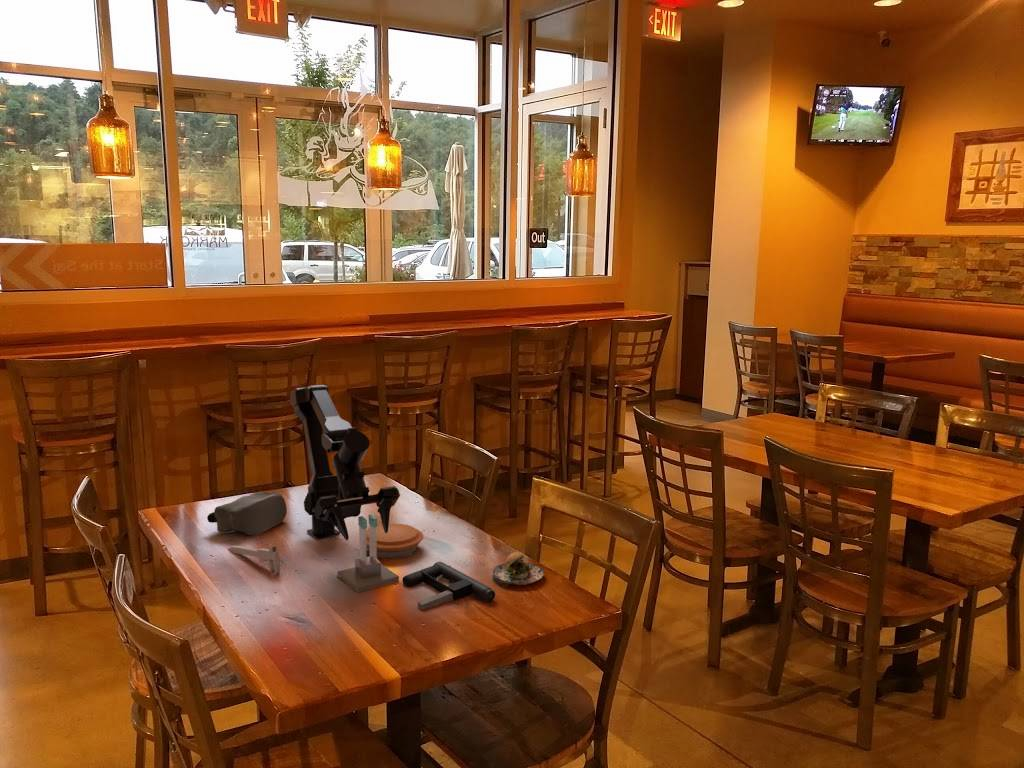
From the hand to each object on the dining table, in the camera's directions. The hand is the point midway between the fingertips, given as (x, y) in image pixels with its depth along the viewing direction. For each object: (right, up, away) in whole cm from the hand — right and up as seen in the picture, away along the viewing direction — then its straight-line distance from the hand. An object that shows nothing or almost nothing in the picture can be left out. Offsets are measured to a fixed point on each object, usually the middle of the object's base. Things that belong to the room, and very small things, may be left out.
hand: (367, 536), depth 181 cm
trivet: (0, -10, +2) cm, 10 cm away
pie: (+3, -7, +19) cm, 20 cm away
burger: (+34, -11, +4) cm, 36 cm away
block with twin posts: (0, -9, +1) cm, 9 cm away
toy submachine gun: (+17, -12, -4) cm, 21 cm away
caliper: (-28, -8, +10) cm, 31 cm away
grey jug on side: (-37, -4, +31) cm, 48 cm away
